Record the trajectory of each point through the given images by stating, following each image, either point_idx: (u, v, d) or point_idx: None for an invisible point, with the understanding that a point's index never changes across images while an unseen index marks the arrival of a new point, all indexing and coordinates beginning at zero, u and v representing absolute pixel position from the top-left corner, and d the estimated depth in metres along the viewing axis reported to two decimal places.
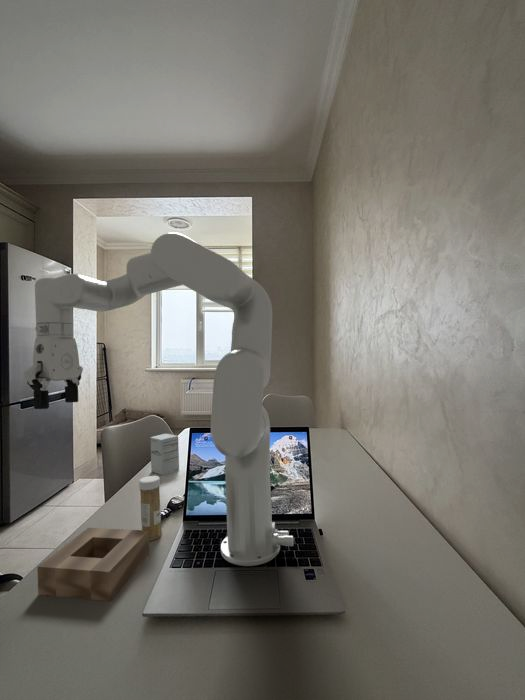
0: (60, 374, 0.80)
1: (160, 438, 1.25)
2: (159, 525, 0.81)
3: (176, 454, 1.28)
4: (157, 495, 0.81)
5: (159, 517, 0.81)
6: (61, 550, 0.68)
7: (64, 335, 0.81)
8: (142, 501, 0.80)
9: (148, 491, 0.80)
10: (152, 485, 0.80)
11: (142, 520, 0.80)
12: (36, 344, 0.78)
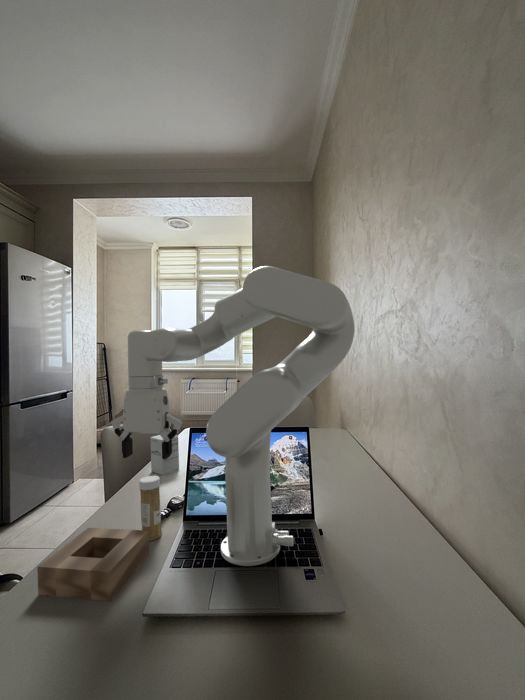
0: None
1: (160, 438, 1.25)
2: (159, 525, 0.81)
3: (176, 454, 1.28)
4: (157, 495, 0.81)
5: (159, 517, 0.81)
6: (61, 550, 0.68)
7: None
8: (142, 501, 0.80)
9: (148, 491, 0.80)
10: (152, 485, 0.80)
11: (142, 520, 0.80)
12: (162, 396, 0.80)
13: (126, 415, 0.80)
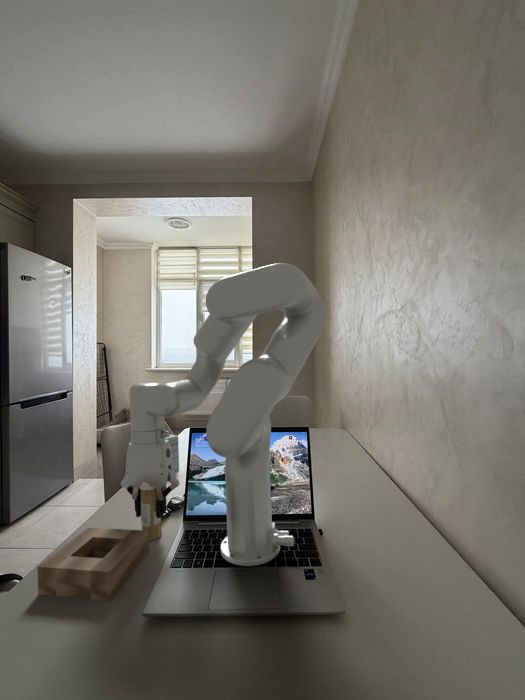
0: None
1: None
2: (159, 525, 0.81)
3: (176, 454, 1.28)
4: (157, 495, 0.81)
5: None
6: (61, 550, 0.68)
7: None
8: (142, 501, 0.80)
9: (148, 491, 0.80)
10: None
11: (142, 520, 0.80)
12: (164, 450, 0.80)
13: (129, 469, 0.80)
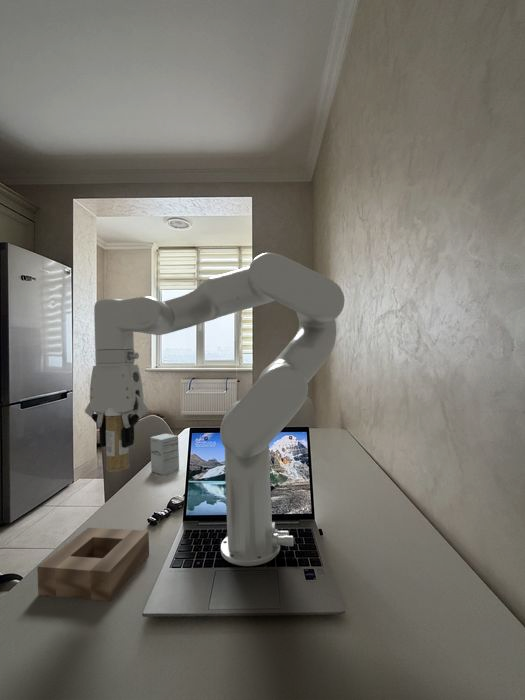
0: None
1: (160, 438, 1.25)
2: (126, 456, 0.74)
3: (176, 454, 1.28)
4: None
5: (126, 448, 0.74)
6: (61, 550, 0.68)
7: None
8: (107, 428, 0.73)
9: (113, 417, 0.72)
10: None
11: (107, 449, 0.73)
12: (131, 372, 0.72)
13: (93, 393, 0.73)
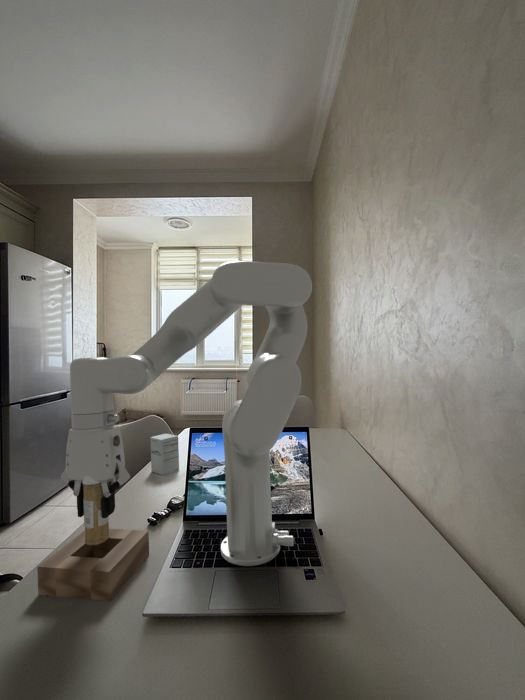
0: None
1: (160, 438, 1.25)
2: (106, 526, 0.68)
3: (176, 454, 1.28)
4: None
5: None
6: (61, 550, 0.68)
7: None
8: (85, 498, 0.67)
9: (91, 486, 0.67)
10: None
11: (85, 520, 0.67)
12: (112, 437, 0.67)
13: (69, 460, 0.67)
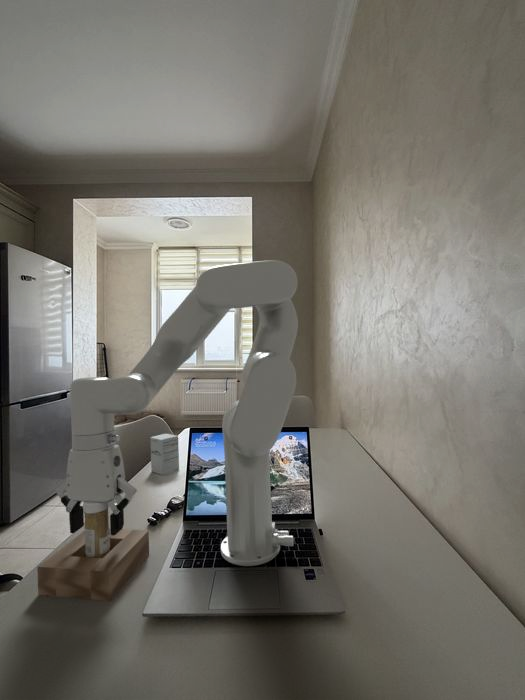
0: None
1: (160, 438, 1.25)
2: None
3: (176, 454, 1.28)
4: (104, 519, 0.68)
5: (107, 545, 0.68)
6: (61, 550, 0.68)
7: None
8: (86, 526, 0.67)
9: (92, 515, 0.66)
10: (97, 507, 0.67)
11: (86, 549, 0.67)
12: (112, 457, 0.67)
13: (70, 480, 0.67)
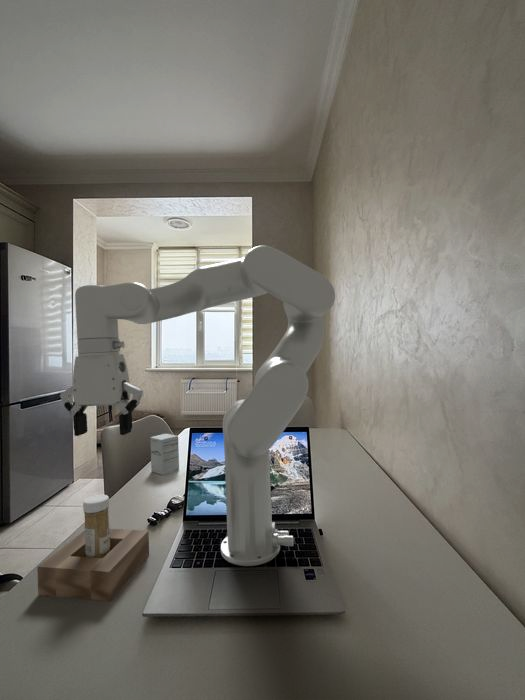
0: None
1: (160, 438, 1.25)
2: None
3: (176, 454, 1.28)
4: (104, 518, 0.68)
5: (107, 544, 0.68)
6: (61, 550, 0.68)
7: None
8: (86, 526, 0.67)
9: (92, 514, 0.67)
10: (97, 506, 0.67)
11: (86, 549, 0.67)
12: (117, 362, 0.69)
13: (76, 385, 0.69)
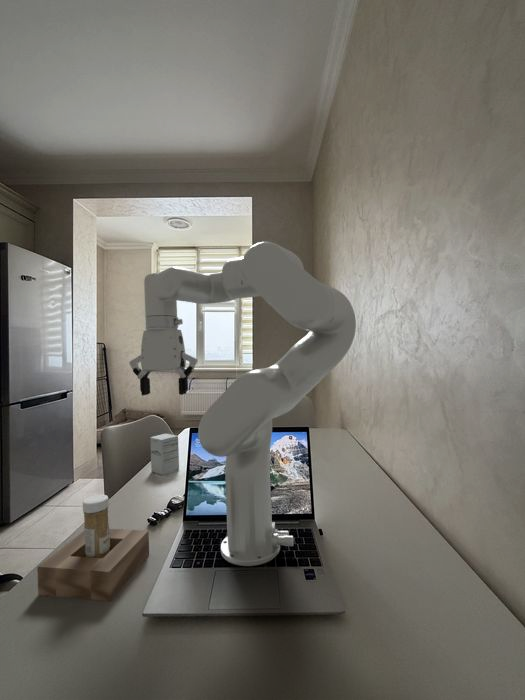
0: None
1: (160, 438, 1.25)
2: None
3: (176, 454, 1.28)
4: (104, 518, 0.68)
5: (107, 544, 0.68)
6: (61, 550, 0.68)
7: None
8: (85, 526, 0.67)
9: (92, 514, 0.67)
10: (97, 506, 0.67)
11: (86, 549, 0.67)
12: (177, 335, 0.85)
13: (144, 354, 0.85)
